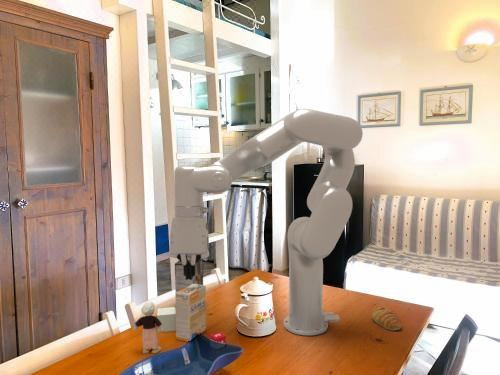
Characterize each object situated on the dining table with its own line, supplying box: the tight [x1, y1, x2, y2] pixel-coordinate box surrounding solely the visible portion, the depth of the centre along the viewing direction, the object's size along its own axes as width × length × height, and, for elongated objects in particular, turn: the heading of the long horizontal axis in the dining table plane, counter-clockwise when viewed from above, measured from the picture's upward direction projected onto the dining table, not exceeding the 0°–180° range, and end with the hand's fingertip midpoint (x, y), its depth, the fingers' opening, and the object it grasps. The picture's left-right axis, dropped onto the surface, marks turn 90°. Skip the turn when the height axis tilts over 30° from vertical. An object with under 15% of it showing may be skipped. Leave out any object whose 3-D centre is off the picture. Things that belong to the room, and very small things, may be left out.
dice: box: [209, 331, 227, 344], centre depth 97 cm, size 3×3×3 cm
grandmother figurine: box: [133, 301, 165, 354], centre depth 95 cm, size 8×4×13 cm, turn 98°
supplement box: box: [174, 284, 207, 343], centre depth 103 cm, size 8×5×13 cm, turn 154°
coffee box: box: [174, 255, 204, 293], centre depth 121 cm, size 9×6×16 cm
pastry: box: [371, 306, 403, 331], centre depth 109 cm, size 9×7×4 cm
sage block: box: [156, 306, 176, 334], centre depth 108 cm, size 5×5×5 cm
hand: (189, 278), depth 102 cm, fingers closed
